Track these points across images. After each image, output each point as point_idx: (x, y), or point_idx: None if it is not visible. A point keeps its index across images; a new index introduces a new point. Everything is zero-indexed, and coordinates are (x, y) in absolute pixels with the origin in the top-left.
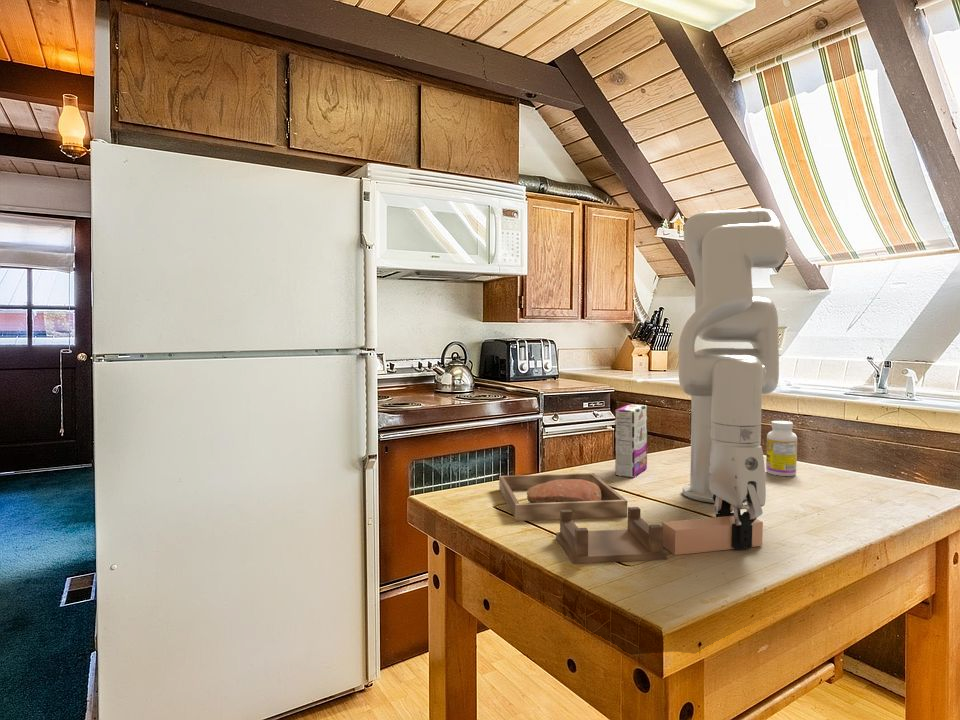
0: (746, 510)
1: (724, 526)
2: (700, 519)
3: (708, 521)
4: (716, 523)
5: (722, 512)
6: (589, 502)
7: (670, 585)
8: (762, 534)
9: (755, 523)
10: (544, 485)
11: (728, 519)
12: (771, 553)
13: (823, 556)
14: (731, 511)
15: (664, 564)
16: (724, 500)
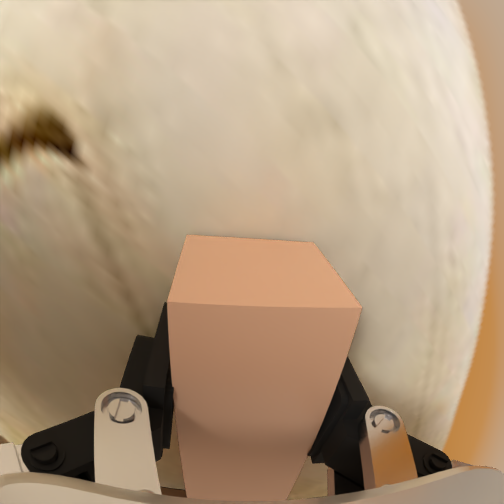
0: (363, 478)
1: (297, 471)
2: (197, 497)
3: (228, 491)
4: (262, 484)
5: (161, 449)
6: None
7: None
8: (332, 267)
9: (343, 353)
10: None
11: (232, 441)
12: (383, 261)
13: (471, 91)
14: (146, 405)
15: (290, 499)
16: (93, 468)
